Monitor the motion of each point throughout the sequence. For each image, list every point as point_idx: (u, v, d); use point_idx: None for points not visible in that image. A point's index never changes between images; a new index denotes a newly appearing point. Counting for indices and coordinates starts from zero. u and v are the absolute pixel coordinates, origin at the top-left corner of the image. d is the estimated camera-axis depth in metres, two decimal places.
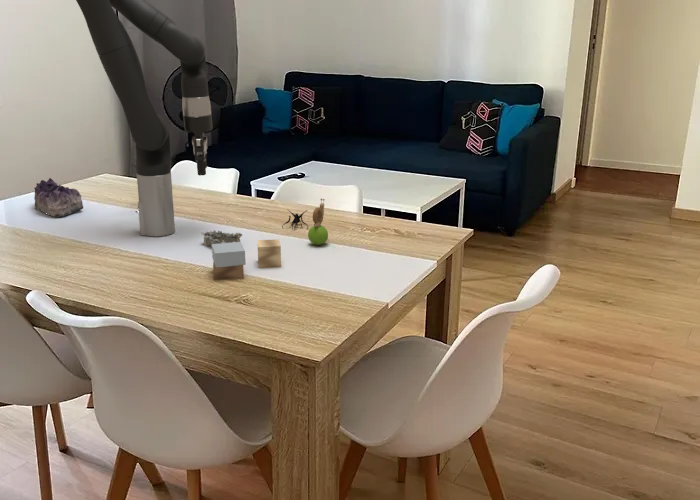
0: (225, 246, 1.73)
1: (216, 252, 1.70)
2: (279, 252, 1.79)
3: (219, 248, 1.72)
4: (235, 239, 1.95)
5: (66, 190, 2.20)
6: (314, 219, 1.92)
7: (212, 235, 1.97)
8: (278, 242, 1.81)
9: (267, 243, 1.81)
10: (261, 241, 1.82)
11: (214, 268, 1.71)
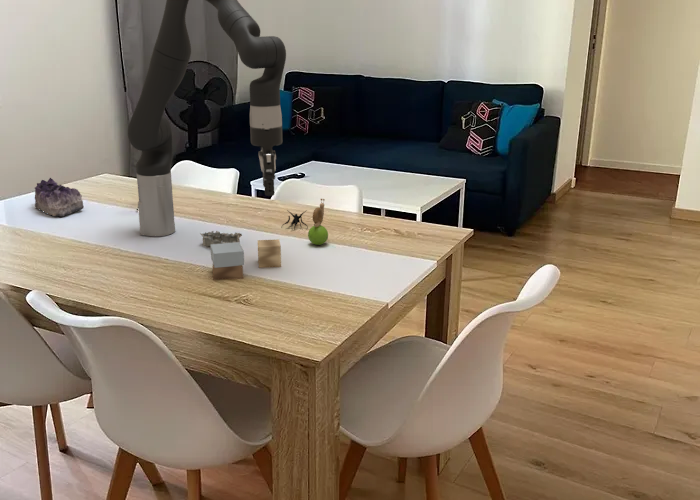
0: (223, 247, 1.73)
1: (215, 252, 1.70)
2: (279, 252, 1.79)
3: (217, 248, 1.72)
4: (234, 239, 1.95)
5: (66, 190, 2.20)
6: (314, 219, 1.92)
7: (210, 236, 1.97)
8: (278, 242, 1.81)
9: (267, 243, 1.81)
10: (261, 241, 1.82)
11: (213, 268, 1.71)
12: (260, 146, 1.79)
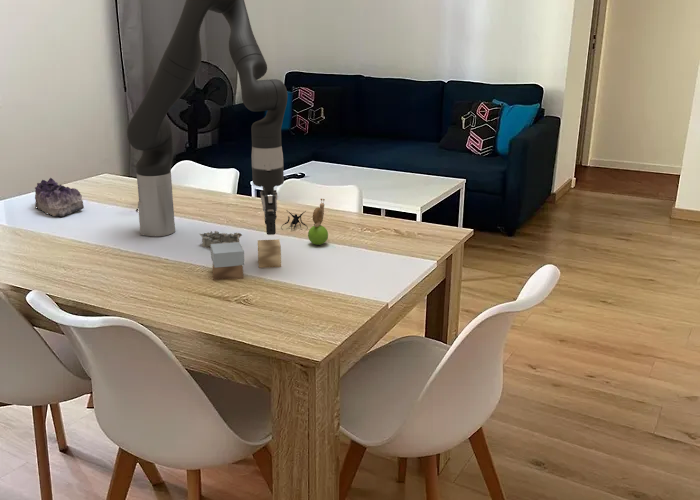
0: (224, 246, 1.73)
1: (215, 252, 1.69)
2: (279, 252, 1.79)
3: (217, 248, 1.72)
4: (234, 239, 1.95)
5: (66, 190, 2.20)
6: (314, 219, 1.92)
7: (210, 236, 1.96)
8: (278, 242, 1.81)
9: (267, 243, 1.81)
10: (261, 241, 1.82)
11: (213, 268, 1.71)
12: None
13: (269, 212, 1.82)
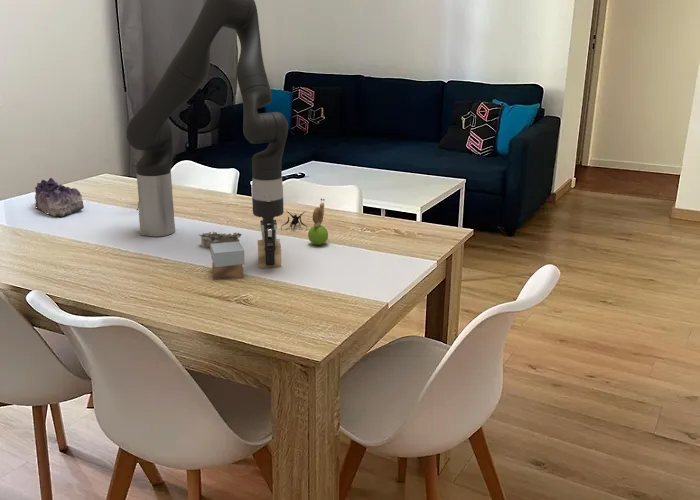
0: (224, 246, 1.74)
1: (215, 252, 1.70)
2: (279, 252, 1.79)
3: (217, 248, 1.73)
4: (233, 239, 1.95)
5: (67, 190, 2.20)
6: (314, 219, 1.92)
7: (208, 236, 1.96)
8: (278, 242, 1.81)
9: None
10: (261, 241, 1.82)
11: (213, 268, 1.71)
12: (262, 216, 1.84)
13: None
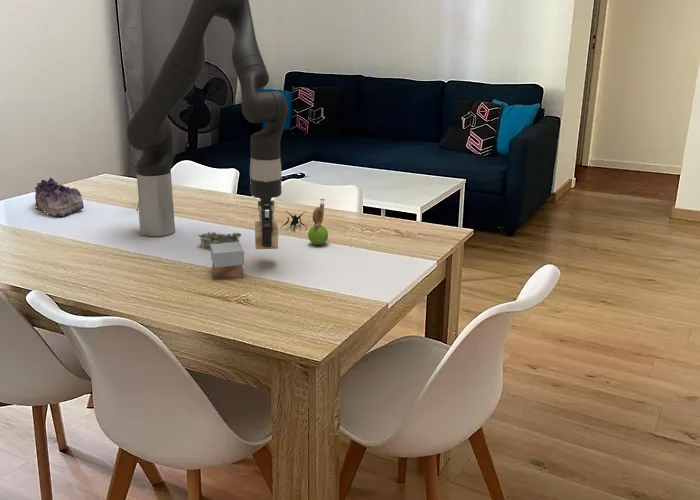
0: (223, 246, 1.74)
1: (215, 252, 1.70)
2: (276, 233, 1.77)
3: (217, 248, 1.73)
4: (233, 239, 1.95)
5: (67, 190, 2.20)
6: (314, 219, 1.92)
7: (208, 237, 1.96)
8: (276, 223, 1.79)
9: (264, 224, 1.79)
10: (258, 222, 1.80)
11: (213, 268, 1.71)
12: (260, 197, 1.82)
13: None
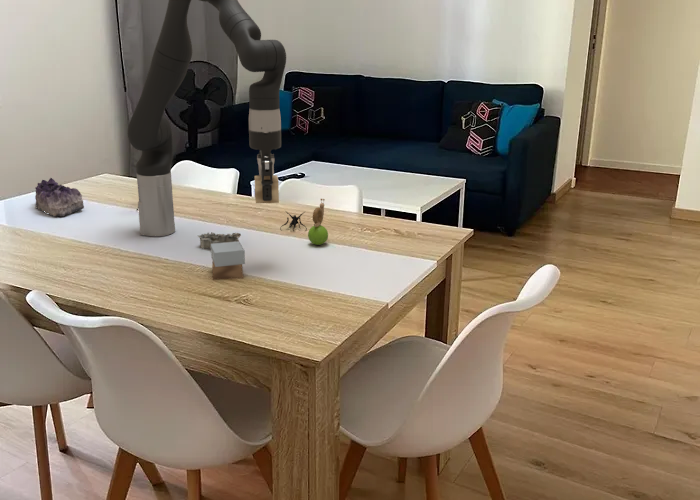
0: (224, 246, 1.74)
1: (216, 251, 1.70)
2: (277, 187, 1.73)
3: (218, 247, 1.73)
4: (232, 239, 1.95)
5: (67, 190, 2.20)
6: (314, 219, 1.92)
7: (207, 237, 1.95)
8: (276, 177, 1.76)
9: (264, 177, 1.75)
10: (258, 176, 1.76)
11: (213, 268, 1.71)
12: (259, 152, 1.79)
13: None
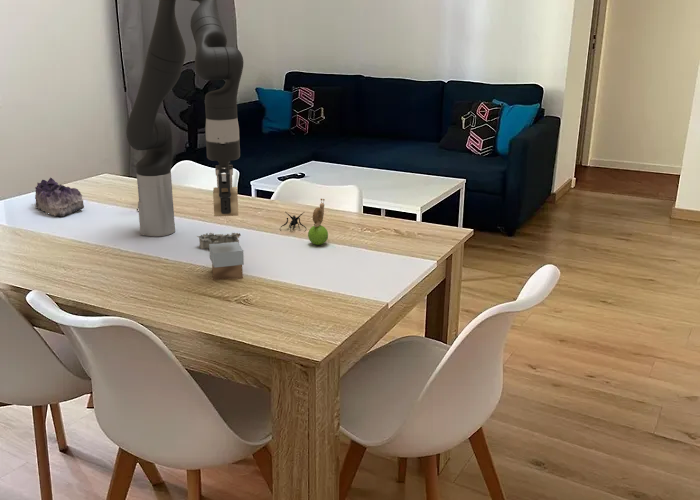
0: (222, 246, 1.73)
1: (214, 252, 1.69)
2: (236, 199, 1.67)
3: (216, 248, 1.72)
4: (232, 239, 1.95)
5: (67, 189, 2.20)
6: (314, 219, 1.92)
7: (206, 238, 1.95)
8: (235, 189, 1.69)
9: (223, 189, 1.69)
10: (217, 188, 1.70)
11: (213, 268, 1.70)
12: None
13: None
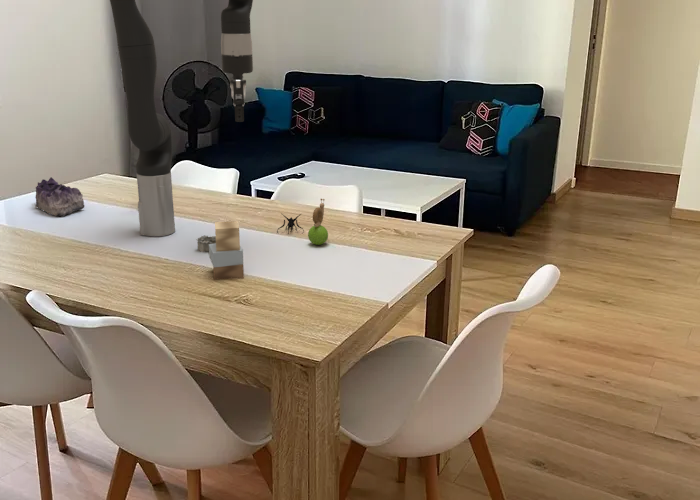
0: None
1: (214, 252, 1.70)
2: (238, 234, 1.70)
3: None
4: None
5: (67, 189, 2.21)
6: (314, 219, 1.92)
7: (203, 240, 1.93)
8: (237, 224, 1.72)
9: (225, 224, 1.72)
10: (219, 223, 1.73)
11: (214, 268, 1.71)
12: None
13: None
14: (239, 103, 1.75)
